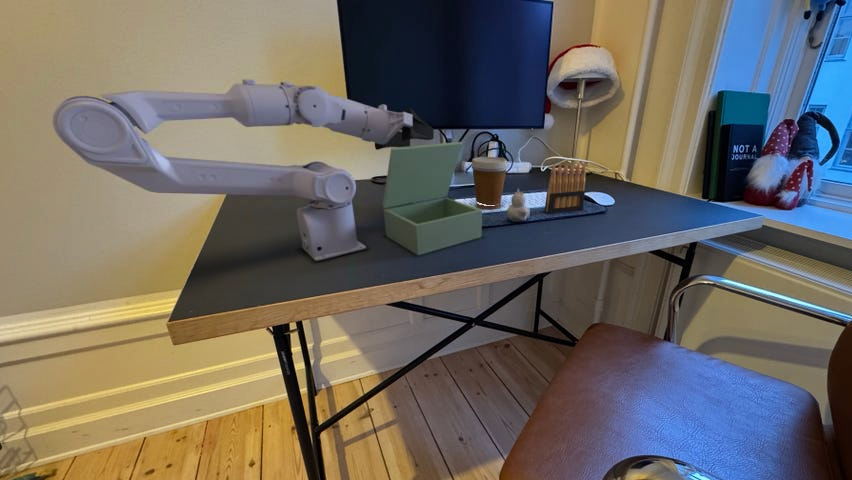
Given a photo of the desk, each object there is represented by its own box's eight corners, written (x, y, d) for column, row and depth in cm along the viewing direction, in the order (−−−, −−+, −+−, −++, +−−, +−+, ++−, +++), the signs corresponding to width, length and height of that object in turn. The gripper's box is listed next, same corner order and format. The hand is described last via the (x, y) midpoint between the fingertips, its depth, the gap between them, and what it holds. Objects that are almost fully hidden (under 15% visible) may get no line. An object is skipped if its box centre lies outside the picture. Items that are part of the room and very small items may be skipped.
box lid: (462, 143, 74) (461, 141, 74) (392, 149, 64) (391, 147, 65) (447, 196, 83) (445, 194, 83) (383, 208, 74) (382, 206, 74)
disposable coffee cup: (506, 211, 93) (509, 163, 88) (469, 210, 94) (469, 162, 88) (505, 201, 102) (507, 157, 97) (471, 200, 102) (471, 156, 97)
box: (481, 237, 77) (482, 210, 75) (418, 255, 68) (416, 226, 66) (446, 221, 86) (446, 197, 83) (386, 236, 77) (383, 209, 74)
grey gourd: (521, 216, 90) (524, 184, 87) (534, 225, 85) (537, 190, 81) (501, 218, 88) (503, 185, 85) (513, 227, 83) (515, 192, 79)
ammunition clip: (547, 213, 93) (552, 165, 87) (544, 211, 94) (548, 163, 89) (583, 209, 96) (590, 163, 91) (578, 207, 98) (585, 161, 92)
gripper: (381, 85, 60) (443, 109, 70) (339, 108, 70) (399, 126, 80) (381, 129, 60) (443, 146, 70) (340, 145, 70) (400, 159, 80)
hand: (420, 138), depth 75 cm, fingers open, 7 cm apart
